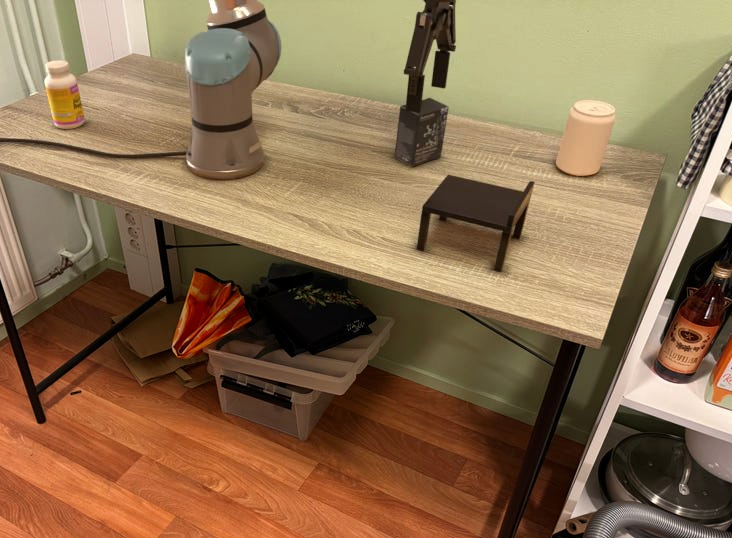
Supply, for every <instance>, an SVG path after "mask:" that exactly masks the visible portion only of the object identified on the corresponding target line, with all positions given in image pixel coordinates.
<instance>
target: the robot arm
mask: <svg viewBox="0 0 732 538" xmlns="http://www.w3.org/2000/svg"><path fill="white" fill-rule="evenodd" d="M422 1H423V2H424V9H423V10H422V11H417V12H416V14H415V23H414V29H413V32H412V37H411V41H410V46H409V50H408V53H407V57H406V61H405V67H404V69H403V75H407V76H408V80H407V90H406V100H405V105H406V109H405V111H411V112H416V113H420V112H421V105H422V100H423V95H424V86H425V77H426V75H425V74H424V72H425V69H426V65H427V62H428V60H429V56H430V53H431V50H432V47H433V43H434V41H435V43H436V47H437V50H435V52H434V60H433V66H432V67H433V68H432V75H431V84H430V87H433V88H437V89H445V88H447V82H448V81H447V80H448V73H449V65H450V58H451V52H452V53H454V52H456V49H457V45H456V41H457V40H456V39H457V38H456V37H457V36H456V35H457V34H456V30H457V29H456V6H457V5H456V3H457V0H422ZM207 2H208V6H209V8H210V12H209V14H208V16H207V18H206V21H205V24H206V27H207V31H200V32H199V33H197V34H195V35H193V36H192V37H191V38H190V39H189V40H188V41H187V43H186V46H185V50H184V57H185V60H184V68H185V73H186V81H187V90H188V91H187V92H188V98H189V99H188V100H189V108H190V117H191V131H190V135H189V139H188V144H187V148H186V149H187V150H186V151H169V152H155V153H154V152H153V153H151V152H150V153H133V154H127V153H125V154H124V153H113V152H105V151H100V150H95V149H91V148H86V147H83V146H82V147H81V146H76V145H73V144H67V143H61V142H55V141H50V140H41V139H33V138H31V139H30V138H15V137H14V138H13V137H9V138H8V137H2V138H1V137H0V143H21V144H35V145H42V146H43V145H45V146H50V147H51V146H52V147H57V148H63V149H68V150H72V151H77V152H83V153H87V154H92V155H96V156H101V157H106V158H114V159H150V158H151V159H152V158H166V157H180V156H181V157H183V156H185V157H186V158H185V159H186V166H187V168H188V170H189V171H190V172H191V173H193V174H194V175H196V176H199V177H201V178H205V179H209V180H210V179H211V180H233V179H234V180H235V179H241V178H243V177H247V176H250V175H252V174H255V173H256V172H257V171H259V170H260V169H261V168H262V167H263V166H264V162H265V161H264V150H263V147H262V141H261V140H259V137H258V133H257V131H256V128H255V126H254V117H253V97H252V95H253V93H254V91H256V89H258V88H259V86H260V85H261V84H262V83H263V82H264V81H266V80H267V79H269V78H270V76H272V74H273V73H274V71H275V69H276V67H277V66H278V64H279V61H280V59H281V56H282V40H281V35H280V33H279V31H278V28H277V26H276V25H275V24H274V23H273V22H272V21H270V20H269V18H268V16H267V11H266V7H265V5H264V3H262V2H261V1H259V0H207Z"/></svg>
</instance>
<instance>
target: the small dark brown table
mask: <svg viewBox="0 0 732 538" xmlns="http://www.w3.org/2000/svg"><path fill="white" fill-rule="evenodd" d="M534 187H535V181H533V180H530V181H528V183H527V185H526V187H525V188H524V190H523V191H522V190H519V189H514V188H511V187H505V186H501V185H495V184H492V183H487V182H483V181H479V180H473V179H470V178H465V177H461V176H456V175H452V174H447V175H446V176H445V177H444V179H443V180H442V181H441V182H440V184H439V185H438V186H437V187H436V189H434V191H433V192H432V194H430V196H429V197H428V199H426V201H425V202H424V204H423V205H422V207H421V215H420V222H419V229H418V236H417V243H416V250H418V251H421V252H424V251H425V250H426V248H427V243H428V238H429V237H428V236H429V235H428V234H429V228H430V222H431V215H436V216H439V217H438V221H442V222H446V221H447V220H448V219H451V220H456V221H459V222H465V223H468V224H472V225H475V226H481V227H484V228H489V229H493V230H495V231H500V232H501V236H500V240H499V245H498V249H497V253H496V258H495V262H494V266H493V271H495V272H499V273H502V271H503V269H504V267H505V263H506V258H507V255H508V250H509V246H510V242H511V238H512V239H515V240H521V237H522V234H523V230H524V226H525V223H526V218H527V215H528V210H529V207H530V203H531V198H532V194H533V190H534Z"/></svg>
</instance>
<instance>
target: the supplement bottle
mask: <svg viewBox="0 0 732 538" xmlns="http://www.w3.org/2000/svg"><path fill="white" fill-rule="evenodd" d="M44 67H45V71H46V73H47V74H48V75H47V76H46V77H45V79H44V86H45V90H46V91H45V92H46V96H47V100H48V103H49V107H50V108H49V109H50V112H51V117H52V119H53V120H52V121H53V124H54V125H55V127H56V128H59V129H62V130H70V129H76V128H79V127H81V126H82V125H84V124H85V121H86V120H85V119H86V118H85V114H84V109H83V104H82V100H81V95H80V89H79V85H78V81H77V78H76V77H75V75H74V74H72V73H70V66H69V62H68V61H66V60H59V59H58V60H51V61H48V62H47V63H45V66H44Z"/></svg>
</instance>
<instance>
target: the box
mask: <svg viewBox="0 0 732 538" xmlns="http://www.w3.org/2000/svg"><path fill="white" fill-rule="evenodd" d="M405 109H406V104H402V105H400V106H399V114H398V120H397V121H398V123H397V129H396V138H395V148H394V158H395V159H397V160H398V161H400V162H402V163H403V164H405V165H407V166H409V167H410V168H413V167H416V166H418V165H421V164H424V163H428V162H430V161H434V160H438V159H440V158H441V157H442V152H443V145H444V140H445V133H446V128H447V127H446V126H447V121H448V114H449V109H450V106H448V105H446V104H444V103H442V102H440V101H438V100H436V99H433V98H432V97H427V98H424V99H422V105H421V112H420V113H416V112H411V111H405Z"/></svg>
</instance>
